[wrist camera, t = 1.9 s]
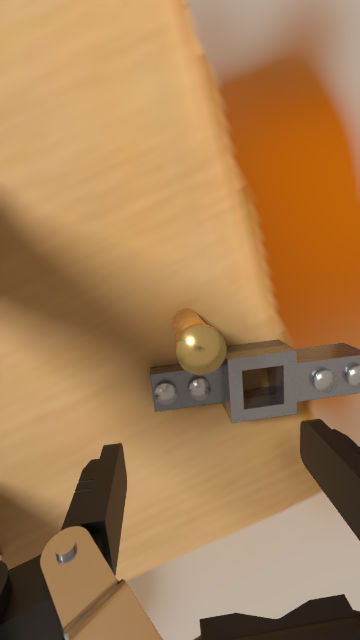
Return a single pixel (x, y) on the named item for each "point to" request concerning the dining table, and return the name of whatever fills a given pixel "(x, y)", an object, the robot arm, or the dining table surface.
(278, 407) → the grey studded bar
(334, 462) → the robot arm
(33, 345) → the dining table surface
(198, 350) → the pin
